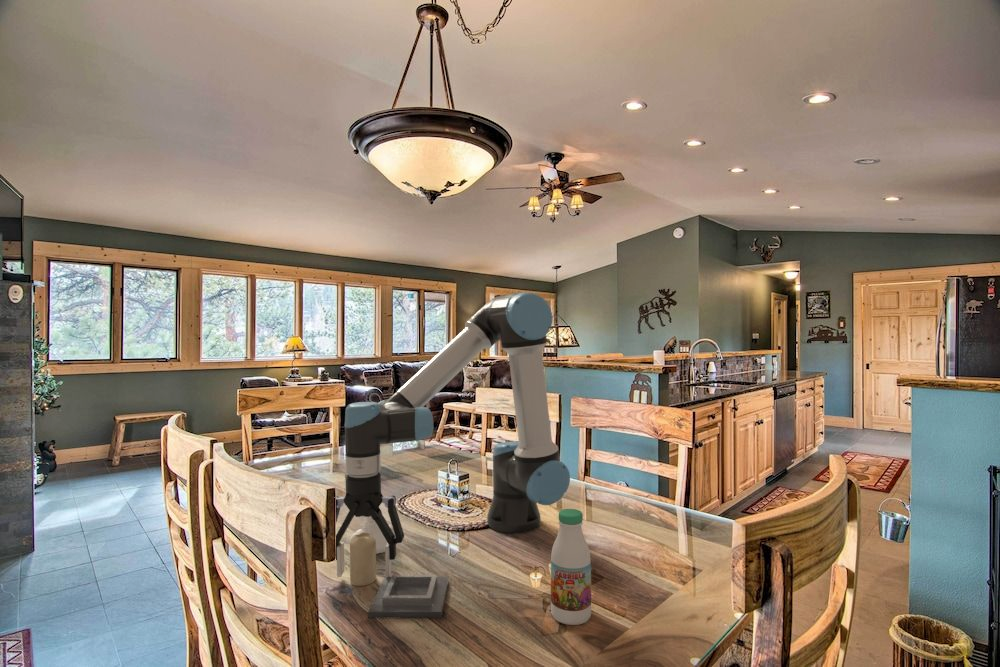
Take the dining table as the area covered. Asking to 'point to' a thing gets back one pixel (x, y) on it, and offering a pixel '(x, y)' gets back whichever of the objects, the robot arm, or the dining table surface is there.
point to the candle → (362, 560)
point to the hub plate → (410, 597)
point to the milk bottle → (570, 571)
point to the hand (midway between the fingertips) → (364, 573)
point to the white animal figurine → (373, 533)
